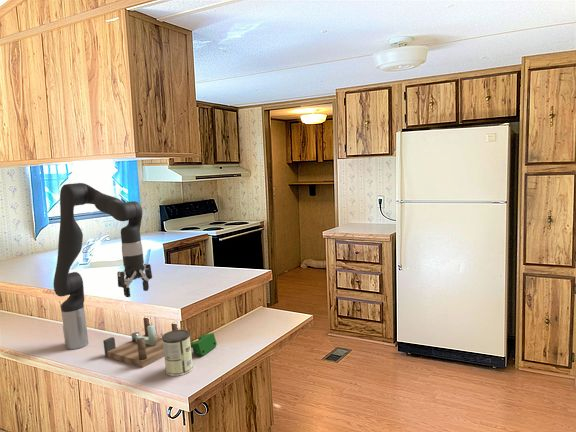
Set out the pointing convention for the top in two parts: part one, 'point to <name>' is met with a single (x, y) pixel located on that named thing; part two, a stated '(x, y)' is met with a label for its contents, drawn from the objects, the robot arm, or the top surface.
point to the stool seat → (136, 349)
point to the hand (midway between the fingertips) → (137, 293)
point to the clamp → (204, 344)
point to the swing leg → (148, 340)
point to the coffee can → (177, 352)
